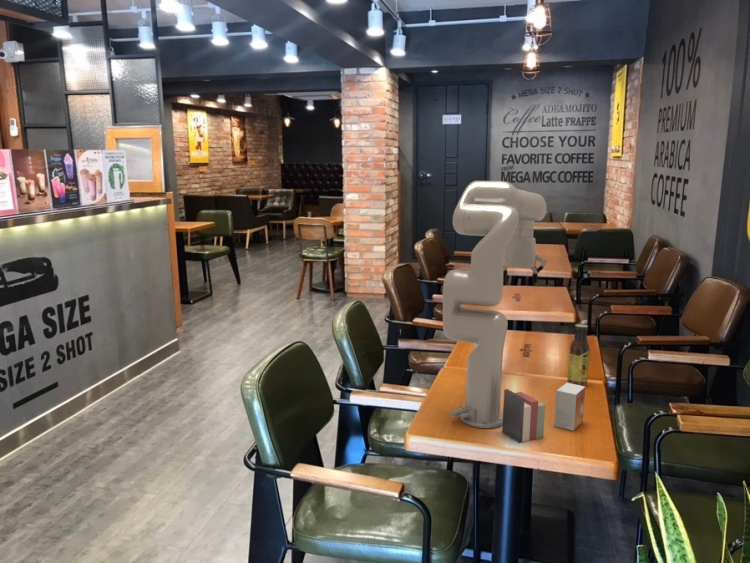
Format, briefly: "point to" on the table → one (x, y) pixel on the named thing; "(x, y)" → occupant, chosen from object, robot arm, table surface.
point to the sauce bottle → (579, 357)
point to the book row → (522, 417)
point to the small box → (569, 406)
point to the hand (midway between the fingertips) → (519, 283)
